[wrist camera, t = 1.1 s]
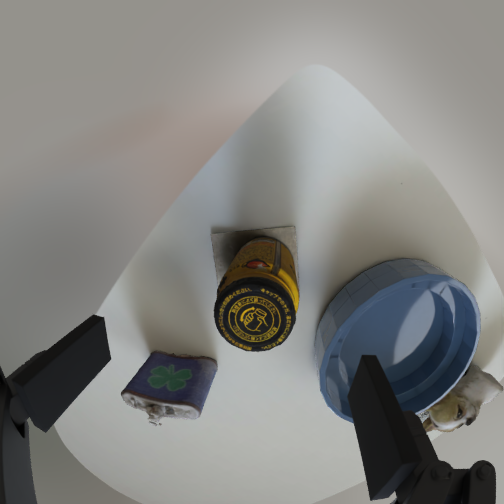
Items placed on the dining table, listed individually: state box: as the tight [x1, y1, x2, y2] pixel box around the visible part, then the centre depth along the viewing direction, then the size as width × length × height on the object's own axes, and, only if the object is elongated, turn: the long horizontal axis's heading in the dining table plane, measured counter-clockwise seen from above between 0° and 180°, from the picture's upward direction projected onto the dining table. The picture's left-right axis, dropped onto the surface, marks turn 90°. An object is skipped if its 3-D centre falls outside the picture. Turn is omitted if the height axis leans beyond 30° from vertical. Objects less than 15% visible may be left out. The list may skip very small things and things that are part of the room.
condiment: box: [211, 227, 299, 352], centre depth 23 cm, size 7×8×12 cm
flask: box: [121, 351, 217, 426], centre depth 28 cm, size 9×3×11 cm, turn 90°
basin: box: [314, 259, 481, 423], centre depth 26 cm, size 19×19×6 cm
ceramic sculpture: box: [423, 366, 503, 432], centre depth 26 cm, size 11×9×15 cm
